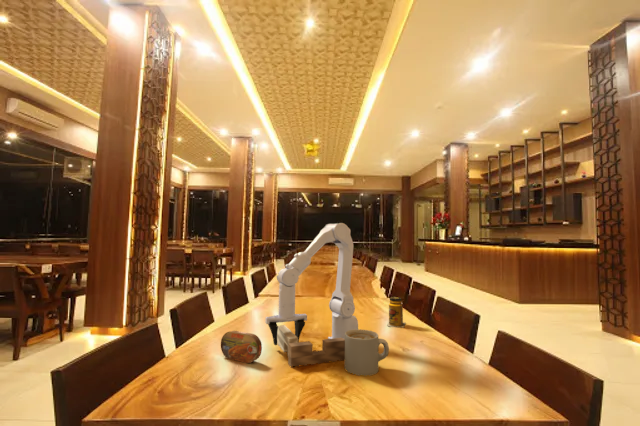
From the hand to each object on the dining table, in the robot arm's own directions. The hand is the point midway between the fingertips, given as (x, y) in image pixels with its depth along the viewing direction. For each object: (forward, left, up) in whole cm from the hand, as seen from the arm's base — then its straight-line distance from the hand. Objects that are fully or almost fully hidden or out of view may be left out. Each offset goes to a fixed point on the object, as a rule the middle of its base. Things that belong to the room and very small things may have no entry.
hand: (286, 343), depth 112 cm
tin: (+16, +4, -2) cm, 17 cm away
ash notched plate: (0, 0, -2) cm, 2 cm away
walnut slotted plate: (-6, +14, -2) cm, 16 cm away
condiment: (-55, -14, -2) cm, 57 cm away
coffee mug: (-18, +24, -2) cm, 30 cm away
